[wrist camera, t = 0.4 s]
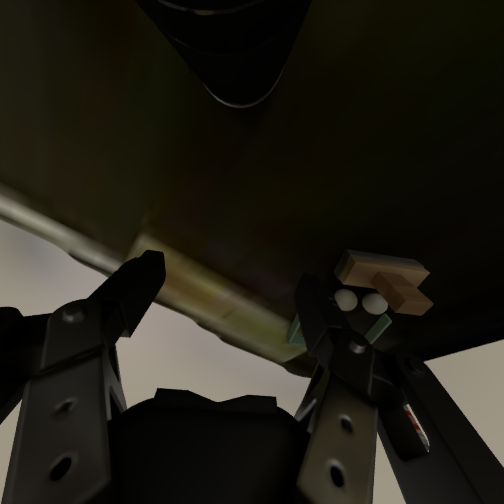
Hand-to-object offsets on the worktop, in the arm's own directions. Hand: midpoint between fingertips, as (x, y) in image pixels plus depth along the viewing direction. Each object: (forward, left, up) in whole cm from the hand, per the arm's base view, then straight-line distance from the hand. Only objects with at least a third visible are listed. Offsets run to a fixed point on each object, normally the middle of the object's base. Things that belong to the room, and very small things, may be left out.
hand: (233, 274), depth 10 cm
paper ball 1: (+15, +22, -15) cm, 30 cm away
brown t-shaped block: (+8, +25, -17) cm, 31 cm away
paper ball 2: (+15, +28, -15) cm, 35 cm away
